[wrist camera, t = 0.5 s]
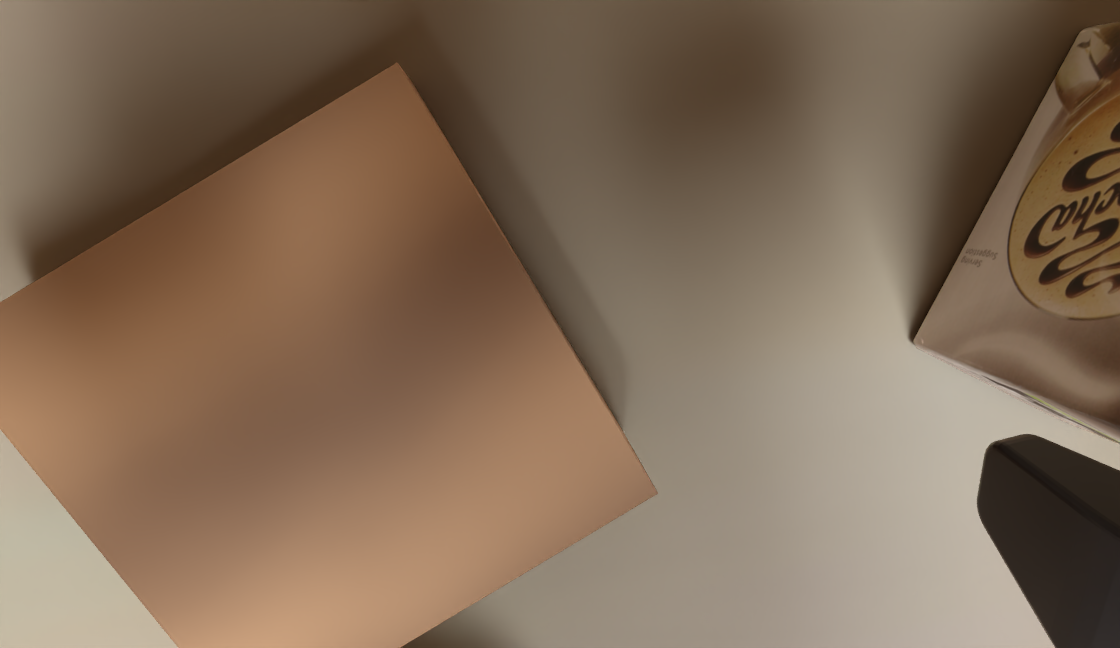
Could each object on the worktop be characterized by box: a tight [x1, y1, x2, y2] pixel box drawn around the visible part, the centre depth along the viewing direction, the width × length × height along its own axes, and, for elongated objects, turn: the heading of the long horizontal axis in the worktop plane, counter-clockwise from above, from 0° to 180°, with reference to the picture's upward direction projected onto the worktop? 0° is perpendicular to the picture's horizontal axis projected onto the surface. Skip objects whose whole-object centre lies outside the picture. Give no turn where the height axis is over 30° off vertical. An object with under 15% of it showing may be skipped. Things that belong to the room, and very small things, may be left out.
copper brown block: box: [0, 62, 658, 648], centre depth 18 cm, size 10×10×4 cm
